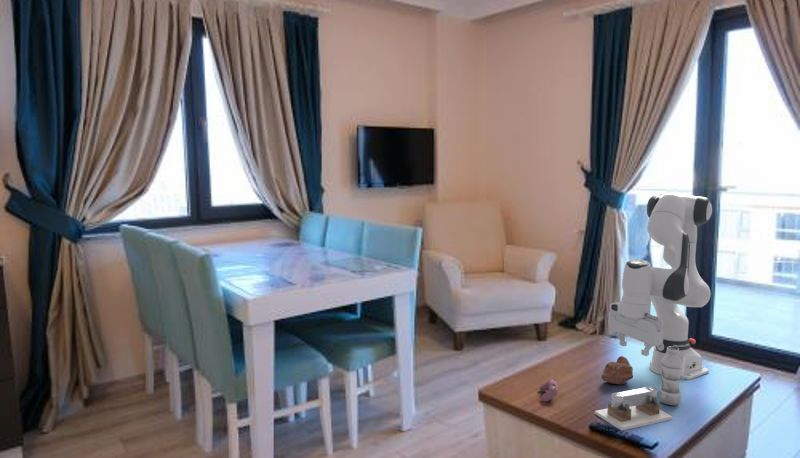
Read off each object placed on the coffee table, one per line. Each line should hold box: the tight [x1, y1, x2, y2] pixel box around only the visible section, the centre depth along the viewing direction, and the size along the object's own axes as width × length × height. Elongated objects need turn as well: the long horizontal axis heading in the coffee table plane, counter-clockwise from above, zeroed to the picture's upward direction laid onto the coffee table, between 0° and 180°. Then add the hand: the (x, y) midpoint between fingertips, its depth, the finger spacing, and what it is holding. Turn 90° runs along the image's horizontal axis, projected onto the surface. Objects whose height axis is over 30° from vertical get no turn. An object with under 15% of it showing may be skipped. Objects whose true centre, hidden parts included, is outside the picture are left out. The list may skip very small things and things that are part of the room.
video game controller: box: [539, 379, 559, 402], centre depth 189 cm, size 10×5×7 cm, turn 169°
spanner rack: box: [594, 398, 674, 431], centre depth 174 cm, size 21×12×6 cm, turn 111°
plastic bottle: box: [658, 346, 683, 406], centre depth 183 cm, size 6×7×20 cm
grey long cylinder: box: [610, 386, 658, 409], centre depth 174 cm, size 18×4×4 cm, turn 110°
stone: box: [601, 355, 634, 385], centre depth 200 cm, size 13×8×10 cm
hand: (633, 350), depth 175 cm, fingers open, 8 cm apart
